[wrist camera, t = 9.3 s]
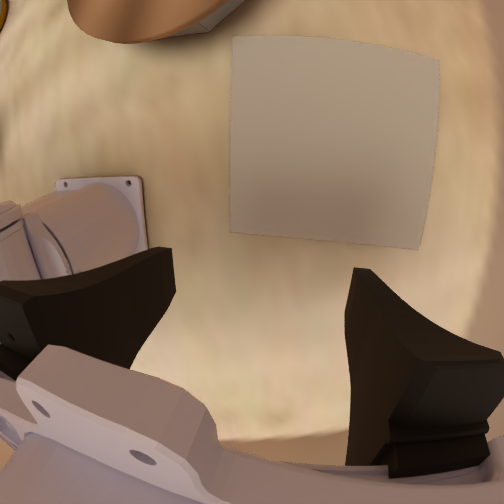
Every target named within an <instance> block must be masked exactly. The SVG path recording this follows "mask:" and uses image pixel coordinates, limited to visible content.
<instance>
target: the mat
mask: <svg viewBox="0 0 504 504" xmlns="http://www.w3.org/2000/svg"><path fill="white" fill-rule="evenodd" d="M439 96H440V60H439V59H436V58H432V57H428V56H425V55H421V54H417V53H413V52H409V51H405V50H400V49H395V48H391V47H386V46H380V45H375V44H369V43H363V42H356V41H348V40H340V39H331V38H321V37H307V36H285V35H250V36H233V42H232V77H231V129H230V232H231V233H244V234H256V235H267V236H279V237H290V238H301V239H312V240H323V241H333V242H344V243H354V244H364V245H374V246H384V247H393V248H403V249H412V250H419V247H420V242H421V238H422V233H423V229H424V224H425V219H426V214H427V208H428V203H429V197H430V191H431V184H432V177H433V170H434V162H435V153H436V144H437V132H438V118H439Z"/></svg>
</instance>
